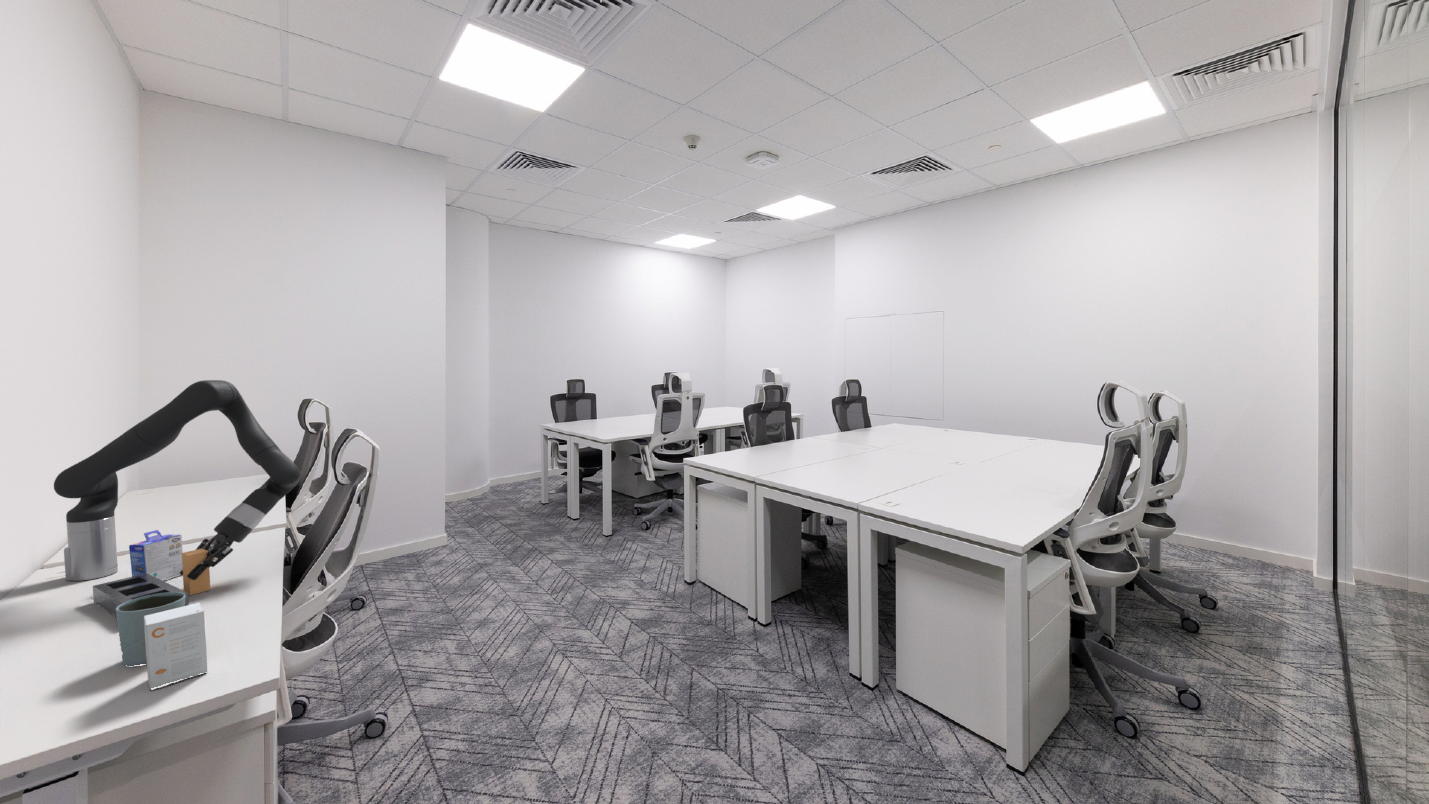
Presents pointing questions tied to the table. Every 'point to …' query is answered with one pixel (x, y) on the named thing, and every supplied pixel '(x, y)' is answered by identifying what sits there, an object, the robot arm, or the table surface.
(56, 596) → the table surface
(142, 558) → the ink cartridge box
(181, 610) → the small box
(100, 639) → the table surface
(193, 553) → the square peg
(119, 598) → the gray slotted block
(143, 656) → the grey-green hollow cylinder
